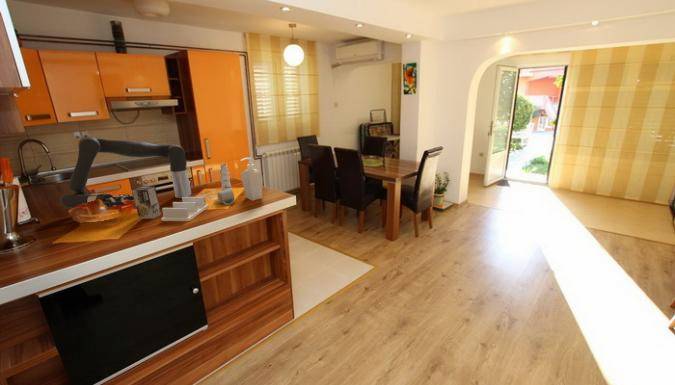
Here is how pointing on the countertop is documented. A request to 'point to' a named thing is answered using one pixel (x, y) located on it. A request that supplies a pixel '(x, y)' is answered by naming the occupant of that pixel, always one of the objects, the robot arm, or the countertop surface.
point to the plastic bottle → (225, 177)
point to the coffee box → (146, 202)
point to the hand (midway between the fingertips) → (128, 200)
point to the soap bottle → (252, 181)
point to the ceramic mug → (226, 197)
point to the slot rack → (185, 209)
